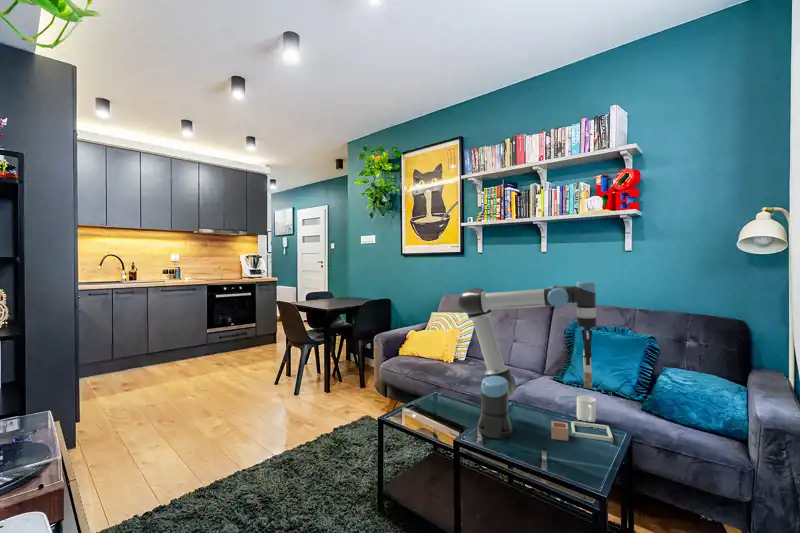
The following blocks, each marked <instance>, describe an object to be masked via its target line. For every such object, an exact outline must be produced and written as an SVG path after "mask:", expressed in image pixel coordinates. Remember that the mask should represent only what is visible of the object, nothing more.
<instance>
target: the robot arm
mask: <svg viewBox="0 0 800 533" xmlns="http://www.w3.org/2000/svg"><path fill="white" fill-rule="evenodd" d="M596 296H597V294H596V284H595V282H594V281H576V284H575V285H572V286H567V285H565V286H564V285H553V286H548V287H547V288H539V289H526V290H525V289H523V290H512V291H511V290H510V291H498V292H487V291H486V290H485V289H483V288H480V287H474V288H470V289H467V290H464V291H462V292H461V294H460V295H459V296H458V301H457V304H458V307H459V309H460V310H461V311H462V312H463V313H465V314H467V317H468V319H469V320H470V321H472V323H473V327H474V330H475V333H476V336H477V339H478V343H479V347H480V350H481V353H482V357H483V360H484V364H485V367H486V371H485V372H484V374H485V377H484V378H483V379H482V380H481V385H480V390H481V398H480V400H481V404H480V405H481V406H480V407H481V408H480V409H481V411H480V412H481V413H480V417H479V418H478V423H477V432H478V431H479V432H480V433H481V434H483V435H485V436H484V437H486V436H487V437H486V438H490V439H496V440H497V439H498V440H499V439H507V438H509V437H511V435H512V433H513V426H512V422H511V420H510V417H509V400H510V398H511V397H512V395H513V394H514V393H515V391H516V386H517V385H516V384H517V383H516V379H515V377H514V375H513V374H512V373H511V371H510V367H509V366H508V365H505V361H504V359H503V356H502V353H501V349H500V346H499V342H498V338H497V335H496V331H495V329H494V326H493V321H492V318H491V315H492V313H493V311H492V310H506V309H507V310H510V309H523V308H526V309H527V308H541V307H554V308H555V307H556V308H560V307H564V306H565V305H566V304H576V316H577V318H576V324H577V325H576V326H578V327H581V328H582V327H583V329H581V335H582V336H581V337H582V346H583V350H584V353H585V355H584V356H583V355H582V358H583V357H584V363H583V373H584V372H588V373H592V374H593V370H592V371H591V358H592V355H593V353H592V339H593V337H592V335H593V331H592V330H593V329H592V330H591V328H595V327H597V318H596V315H597V313H598V309H597V306H596V305H597V300H596V299H597V297H596ZM479 432H478V433H479ZM480 433H479V434H480ZM481 434H480V435H481ZM483 435H482V436H483Z"/></svg>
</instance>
